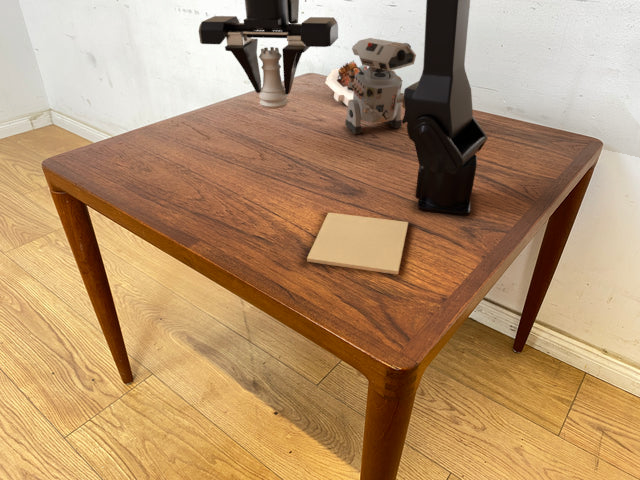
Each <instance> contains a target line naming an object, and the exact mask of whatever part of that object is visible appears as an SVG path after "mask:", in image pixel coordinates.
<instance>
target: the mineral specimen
mask: <svg viewBox="0 0 640 480" xmlns="http://www.w3.org/2000/svg"><path fill="white" fill-rule="evenodd" d="M353 67H359V68H360V69H361V70H365V69H368V68H369V67H368V66H365V65H362V64H361V65H360V66H358V65H357V63H356V62H355V60H354V59H353V60H352V61H350V62H349V63H348V62H346V63H345V64H344V65H342V66H340V67H339V68H333V69H332V70H331V72H330V73H329V74H328V76H327V77H326V79H325V82H324V83H325V85H327V86H328V87H329V89H331V90H332V92H334V94H333V99H334V100H335V101H336V102H337V103H338V102H339V103H340V102H342V103H343V104H344V105H345V106H347V107H348V104H349V101H351V100H353V94H354V91H353V90H348V89H347V88H348V81H349V71H350V70H352V68H353ZM353 70H355V75H356V74H357V73H358V72H359V71H360V70H359V69H358V68H354V69H353ZM354 80H355V78H354Z"/></svg>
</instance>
